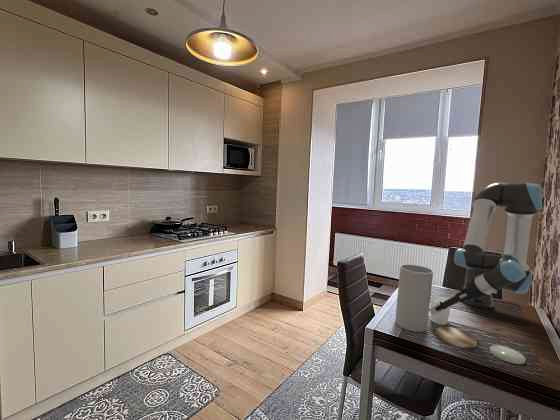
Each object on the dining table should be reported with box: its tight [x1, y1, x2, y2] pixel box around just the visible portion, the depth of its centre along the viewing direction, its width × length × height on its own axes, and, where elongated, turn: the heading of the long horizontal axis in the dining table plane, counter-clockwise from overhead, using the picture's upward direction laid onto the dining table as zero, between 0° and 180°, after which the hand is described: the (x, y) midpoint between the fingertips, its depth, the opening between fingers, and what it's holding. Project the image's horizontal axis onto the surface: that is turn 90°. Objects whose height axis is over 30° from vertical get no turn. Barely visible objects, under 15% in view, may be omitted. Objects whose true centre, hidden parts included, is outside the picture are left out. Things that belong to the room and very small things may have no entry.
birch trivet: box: [435, 326, 478, 349], centre depth 113 cm, size 14×14×1 cm
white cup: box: [429, 295, 452, 326], centre depth 127 cm, size 8×8×10 cm
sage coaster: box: [489, 344, 526, 365], centre depth 103 cm, size 10×10×1 cm
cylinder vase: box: [394, 263, 434, 333], centre depth 121 cm, size 12×12×25 cm
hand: (438, 308), depth 127 cm, fingers open, 13 cm apart
